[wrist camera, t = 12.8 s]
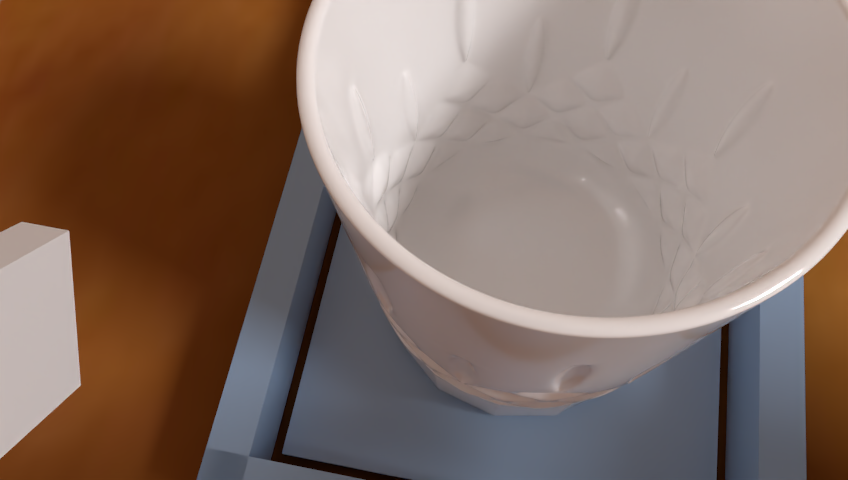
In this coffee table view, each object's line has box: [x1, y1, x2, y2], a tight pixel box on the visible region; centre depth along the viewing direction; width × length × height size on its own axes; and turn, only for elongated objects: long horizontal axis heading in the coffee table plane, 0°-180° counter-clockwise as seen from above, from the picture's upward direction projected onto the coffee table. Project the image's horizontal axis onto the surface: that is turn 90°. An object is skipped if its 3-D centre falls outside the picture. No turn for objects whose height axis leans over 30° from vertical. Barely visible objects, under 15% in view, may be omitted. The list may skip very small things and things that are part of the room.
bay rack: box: [197, 129, 807, 480], centre depth 20 cm, size 13×25×2 cm, turn 169°
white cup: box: [296, 0, 848, 416], centre depth 14 cm, size 8×8×10 cm
